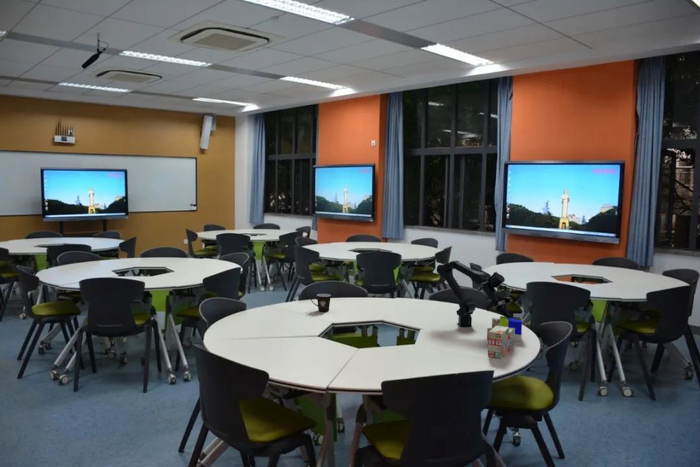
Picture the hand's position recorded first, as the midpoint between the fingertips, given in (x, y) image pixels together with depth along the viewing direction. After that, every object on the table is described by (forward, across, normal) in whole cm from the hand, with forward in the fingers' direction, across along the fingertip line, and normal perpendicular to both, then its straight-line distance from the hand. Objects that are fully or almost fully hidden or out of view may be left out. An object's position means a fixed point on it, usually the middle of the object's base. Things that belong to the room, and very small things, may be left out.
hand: (508, 317), depth 276 cm
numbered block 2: (+7, -13, +8) cm, 17 cm away
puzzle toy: (+9, -2, +6) cm, 11 cm away
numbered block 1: (0, +7, +14) cm, 16 cm away
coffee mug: (-68, -39, +82) cm, 114 cm away
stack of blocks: (+16, -27, -1) cm, 31 cm away
